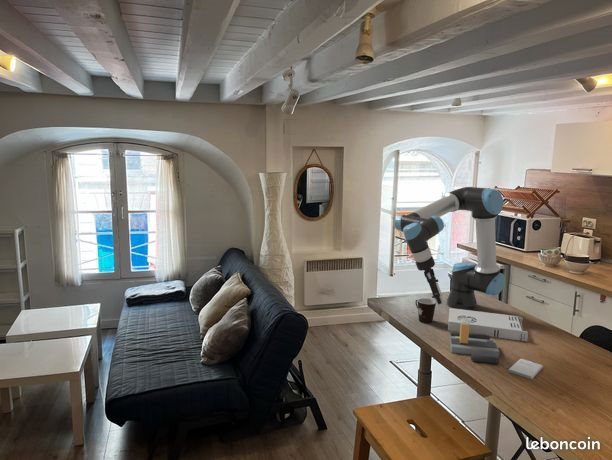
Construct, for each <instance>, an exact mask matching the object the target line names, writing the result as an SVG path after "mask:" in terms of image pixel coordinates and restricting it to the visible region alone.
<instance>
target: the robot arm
mask: <svg viewBox="0 0 612 460" xmlns="http://www.w3.org/2000/svg"><path fill="white" fill-rule="evenodd" d="M503 207H504V198H503V195H502V193H501V192H500V191H499V190H497V189H495V188H490V187H476V186H475V187H473V186H465V187H460V188H457V189H455V190H452V191H449V192H447V193H445V194H444V195H443V196H442V197H441V198H440V199H437V200H436V201H434V202H431V203H429V204H427V205H425V206H423V207H421V208H419V209H417V210H415V211H412V212H411V213H408V214H397V216H396V217H395V218H394V221H393V225H394V228H395V230H397V231H399V232H403V235H404V239H405V241H406V242H407V245H408V248H409V250H410V253H411V254H410V256H411V257H412V258H413V260H414V263H415V266H416V268H417V270H418V271H423V272H424V273H423V275H424V277H425V278H426V282H427V283H428V285H429V288H430V290H431V293H432V296H431V297H432V298H431V299H433V300H435V301H436V305H437V309H438V311H439V312H442V311H444V310H447V309H446V306H445V303H444V300H443V298H442V297H443V293H442V290H441V288H440V285H439V283H438V282H439V280H438V279H437V278H436V275H435V271H434V268H433V267H435V265H436V262H435V260H434V257H433V254H432V252H431V249H430V247H429V244H428V242H427V241H430V239H433V237H436V236H437V235H439V234H440V233H441V232H442V231H443V230H444V227H445V223H444V220H443V219H442V218H441V217H442V216H444V215H446V214H448V213H450V212H451V213H454V212H457V211H468V212H471V218H472V219H474V220H475V232H476V233H475V235H476V237H475V239H476V255H477V256H476V257H477V258H476V259H477V263H474V262H469V261H468V262H466V261H465V262H457V263H454V264H453V266H452V271H451V286H450V288H451V289H450V292H449V294H448V296H447V299H446V305H447V306H448V307H449V308H454V309H462V310H471V311H474V310H476V309H477V308H478V307H477V306H478V303H477V298H476V294H475V291H476V292H479V293H481V294H482V293H483V294H485V295H489V296H498V295H499V294H500V293H501V292H502V291H503V289H504V287H505V284H506V275H505V274H504V273H502V272H501V267H500V265H498V264H497V249H496V248H497V245H496V244H497V243H496V241H497V240H496V219H497V217H499V214H500V213H501V212H502V211H503Z"/></svg>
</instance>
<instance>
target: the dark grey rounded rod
mask: <svg viewBox="0 0 612 460" xmlns="http://www.w3.org/2000/svg"><path fill="white" fill-rule="evenodd" d="M450 336H458V337H460V332H454V331H450ZM469 338H475V339H485V340H487V339H488V340H491V336H489V335H484V334H474V333H469Z"/></svg>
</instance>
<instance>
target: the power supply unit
mask: <svg viewBox="0 0 612 460" xmlns="http://www.w3.org/2000/svg"><path fill="white" fill-rule="evenodd" d="M448 311H449V312H448V321H447V331H449V332H452V331H454V332H460V324H461V318H462V319H469V322H470V325H469V333H474V334H484V335H489V336H490V338H491V337H493V338H494V337H495V338H498V339H499V338H500V339H507V340H508V339H509V340H514V341H522V342H523V341H524V342H528V338H529V337H528V336H529V332H528V331H527V330H524V326H523V318H524V317H523V316H519V315H510V314H504V313H503V314H501V313H494V312H486V311H480V310H479V311H477V310H462V309H455V308H452V307H449V309H448Z"/></svg>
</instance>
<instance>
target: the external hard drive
mask: <svg viewBox="0 0 612 460" xmlns="http://www.w3.org/2000/svg"><path fill="white" fill-rule="evenodd" d="M543 366H544V365H542V364H539V363H537V362H533V361H530V360H528V359H524V358H520V359H519V360H517V361H516V362H515V363H514V364H513V365H512V366H510V368H508V369H507V370H508V373H512V374H514V375H518V376H521V377H523V378H526V379H528V380H533V379H534V378H535V376H537V374H539V372H540V371H541V370H542V369H543V368H544V367H543Z"/></svg>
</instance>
